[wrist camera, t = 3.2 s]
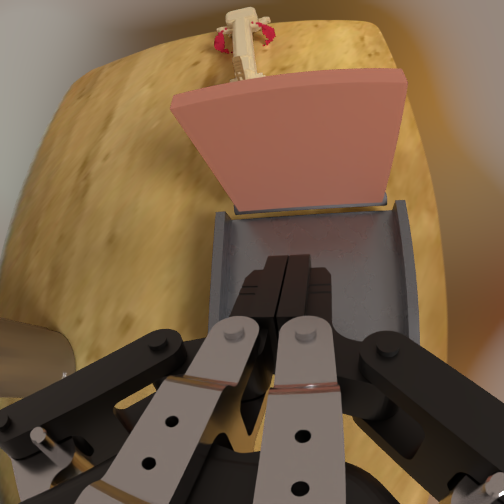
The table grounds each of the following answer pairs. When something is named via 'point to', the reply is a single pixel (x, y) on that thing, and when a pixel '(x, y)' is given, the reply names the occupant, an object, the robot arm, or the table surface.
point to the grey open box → (328, 265)
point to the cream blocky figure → (243, 41)
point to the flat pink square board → (298, 137)
